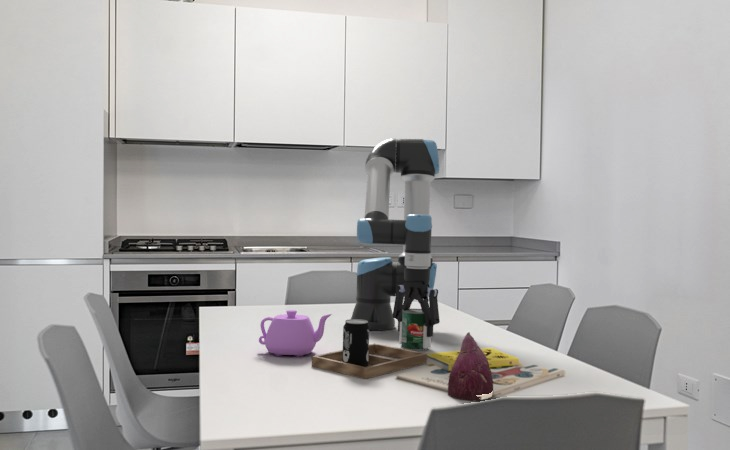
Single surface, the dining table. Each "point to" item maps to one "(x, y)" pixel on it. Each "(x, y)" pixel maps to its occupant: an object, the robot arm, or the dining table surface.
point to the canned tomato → (413, 329)
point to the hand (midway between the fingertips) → (414, 345)
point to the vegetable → (470, 372)
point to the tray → (371, 361)
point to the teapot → (291, 334)
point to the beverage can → (356, 342)
